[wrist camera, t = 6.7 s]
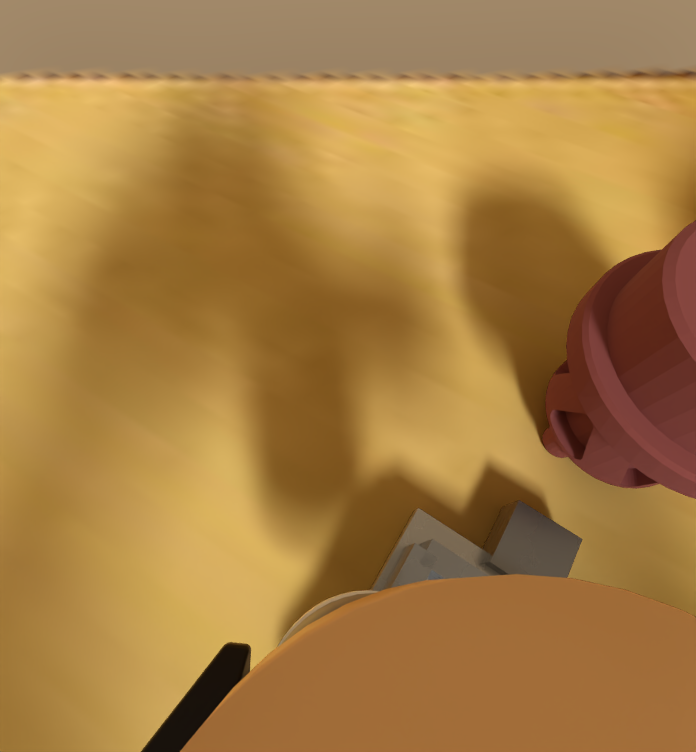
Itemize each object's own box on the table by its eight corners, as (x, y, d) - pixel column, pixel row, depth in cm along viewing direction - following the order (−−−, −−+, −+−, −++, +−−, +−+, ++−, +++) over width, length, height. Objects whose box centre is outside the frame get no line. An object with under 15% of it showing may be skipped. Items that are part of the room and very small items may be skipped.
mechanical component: (733, 482, 24) (567, 559, 22) (621, 319, 27) (469, 373, 25) (1113, 393, 12) (839, 535, 10) (837, 134, 16) (593, 205, 14)
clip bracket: (508, 944, 16) (555, 1032, 13) (275, 757, 18) (266, 795, 15) (630, 586, 21) (686, 587, 18) (438, 466, 23) (458, 448, 20)
